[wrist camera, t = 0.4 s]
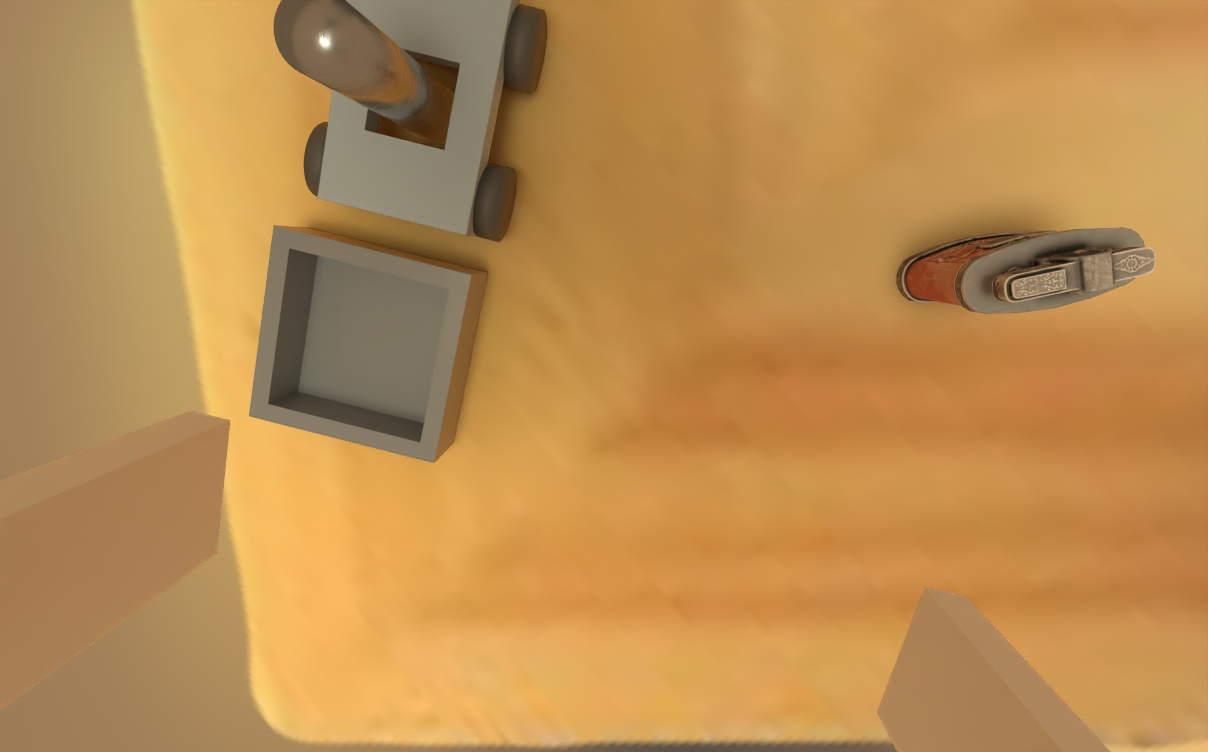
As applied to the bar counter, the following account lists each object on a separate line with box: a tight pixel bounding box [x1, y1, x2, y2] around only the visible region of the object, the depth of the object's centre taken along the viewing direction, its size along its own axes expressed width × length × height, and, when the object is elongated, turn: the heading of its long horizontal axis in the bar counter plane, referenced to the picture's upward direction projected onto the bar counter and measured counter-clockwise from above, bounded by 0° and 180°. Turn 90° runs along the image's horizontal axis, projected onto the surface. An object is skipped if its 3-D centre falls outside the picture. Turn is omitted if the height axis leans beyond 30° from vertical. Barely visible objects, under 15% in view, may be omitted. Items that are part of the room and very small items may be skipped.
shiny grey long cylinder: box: [274, 0, 455, 144], centre depth 29 cm, size 3×3×14 cm
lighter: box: [896, 228, 1156, 314], centre depth 31 cm, size 8×3×10 cm, turn 103°
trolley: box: [304, 0, 547, 242], centre depth 33 cm, size 12×10×4 cm
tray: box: [249, 225, 488, 463], centre depth 36 cm, size 11×11×4 cm
